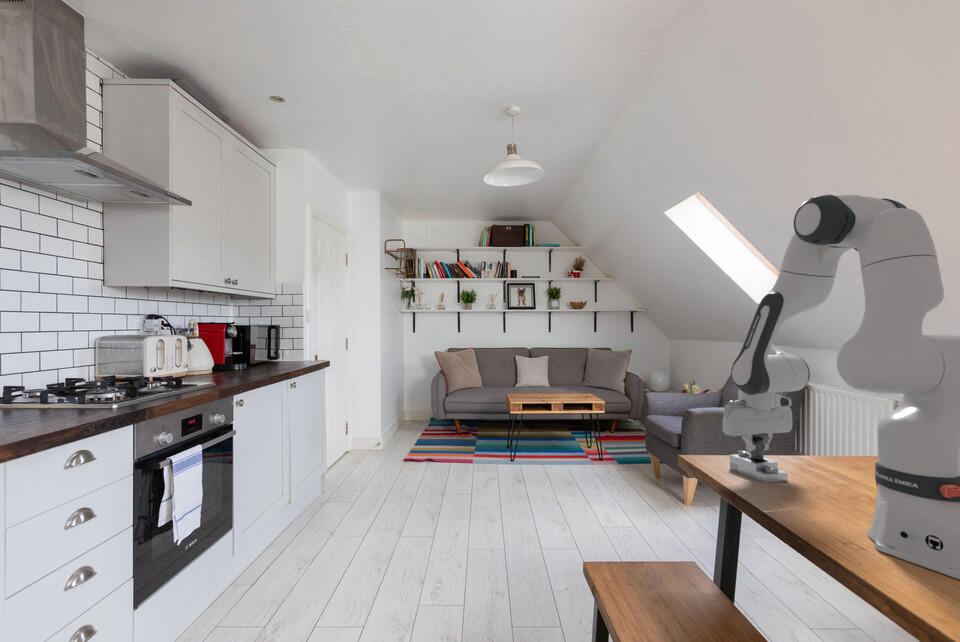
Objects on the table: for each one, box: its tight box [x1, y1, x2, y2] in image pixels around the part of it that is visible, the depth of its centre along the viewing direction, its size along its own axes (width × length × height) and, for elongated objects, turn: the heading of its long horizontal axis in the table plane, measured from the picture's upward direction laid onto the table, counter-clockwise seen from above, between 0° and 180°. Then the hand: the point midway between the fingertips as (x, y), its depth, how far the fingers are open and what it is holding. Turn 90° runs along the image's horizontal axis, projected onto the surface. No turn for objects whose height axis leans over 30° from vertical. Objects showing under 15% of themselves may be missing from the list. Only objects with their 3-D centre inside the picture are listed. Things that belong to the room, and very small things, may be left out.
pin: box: [750, 434, 766, 462], centre depth 126 cm, size 4×4×10 cm
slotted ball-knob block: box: [729, 450, 788, 484], centre depth 126 cm, size 12×7×5 cm, turn 14°
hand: (757, 450), depth 126 cm, fingers closed on pin, 3 cm apart
